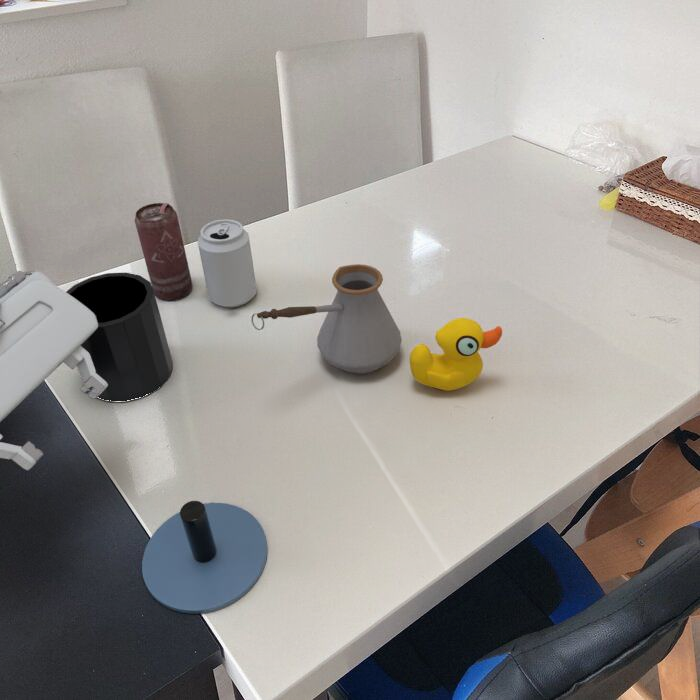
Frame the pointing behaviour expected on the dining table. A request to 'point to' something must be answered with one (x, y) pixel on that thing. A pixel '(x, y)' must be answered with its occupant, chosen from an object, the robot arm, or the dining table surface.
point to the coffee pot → (352, 322)
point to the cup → (125, 335)
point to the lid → (204, 557)
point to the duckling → (453, 355)
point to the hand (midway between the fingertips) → (70, 425)
